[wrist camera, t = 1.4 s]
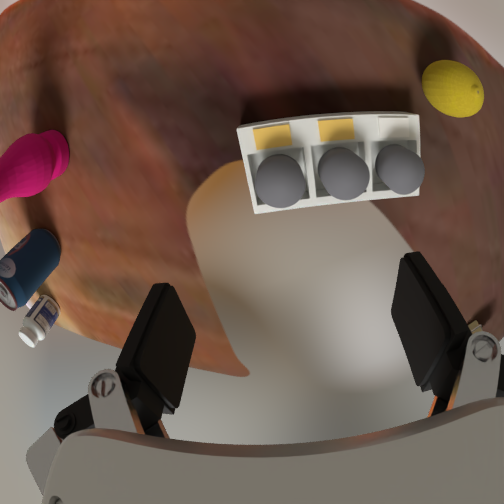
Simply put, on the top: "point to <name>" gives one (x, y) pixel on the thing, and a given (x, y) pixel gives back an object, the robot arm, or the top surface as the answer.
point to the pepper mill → (32, 164)
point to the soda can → (27, 267)
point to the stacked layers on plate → (475, 327)
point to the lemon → (452, 88)
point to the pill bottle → (39, 320)
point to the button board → (327, 148)
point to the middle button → (343, 173)
